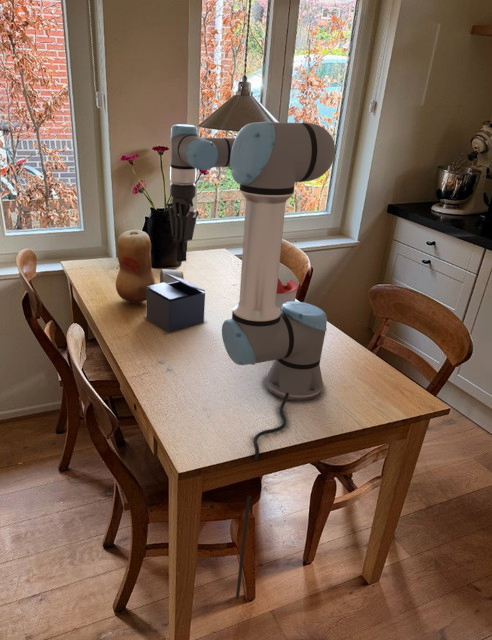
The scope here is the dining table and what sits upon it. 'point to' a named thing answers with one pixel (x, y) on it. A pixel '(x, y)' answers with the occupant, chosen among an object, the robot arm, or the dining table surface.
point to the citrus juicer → (285, 293)
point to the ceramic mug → (175, 273)
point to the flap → (185, 282)
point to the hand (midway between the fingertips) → (181, 260)
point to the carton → (174, 305)
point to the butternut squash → (134, 266)
